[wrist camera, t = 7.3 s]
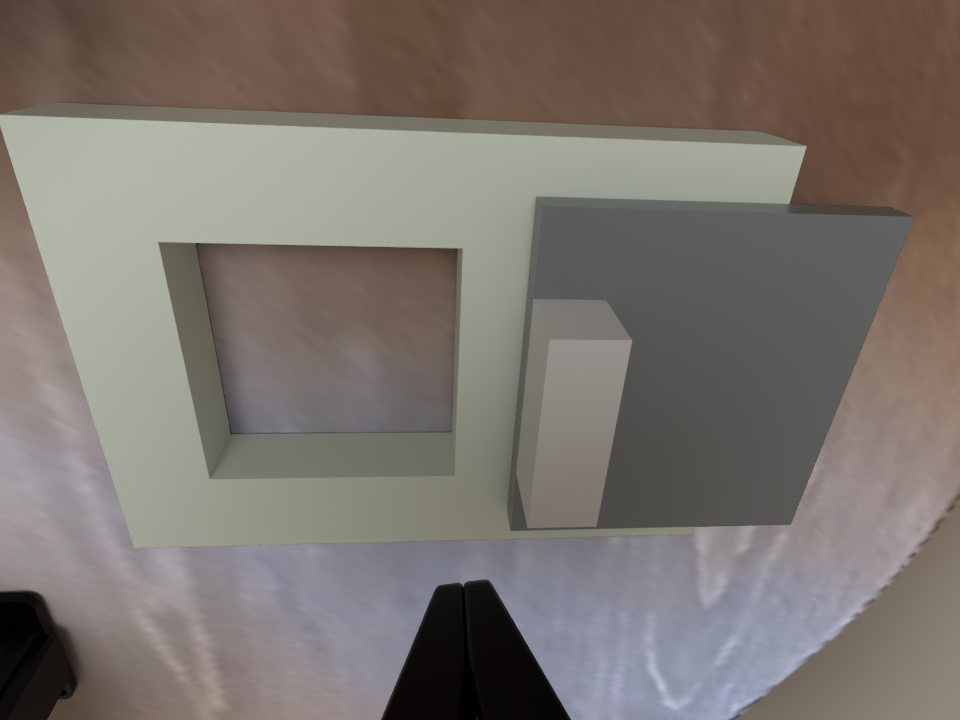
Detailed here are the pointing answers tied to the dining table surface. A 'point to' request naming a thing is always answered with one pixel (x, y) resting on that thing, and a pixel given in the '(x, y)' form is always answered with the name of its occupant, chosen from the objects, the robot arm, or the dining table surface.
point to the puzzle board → (327, 222)
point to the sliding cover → (687, 356)
